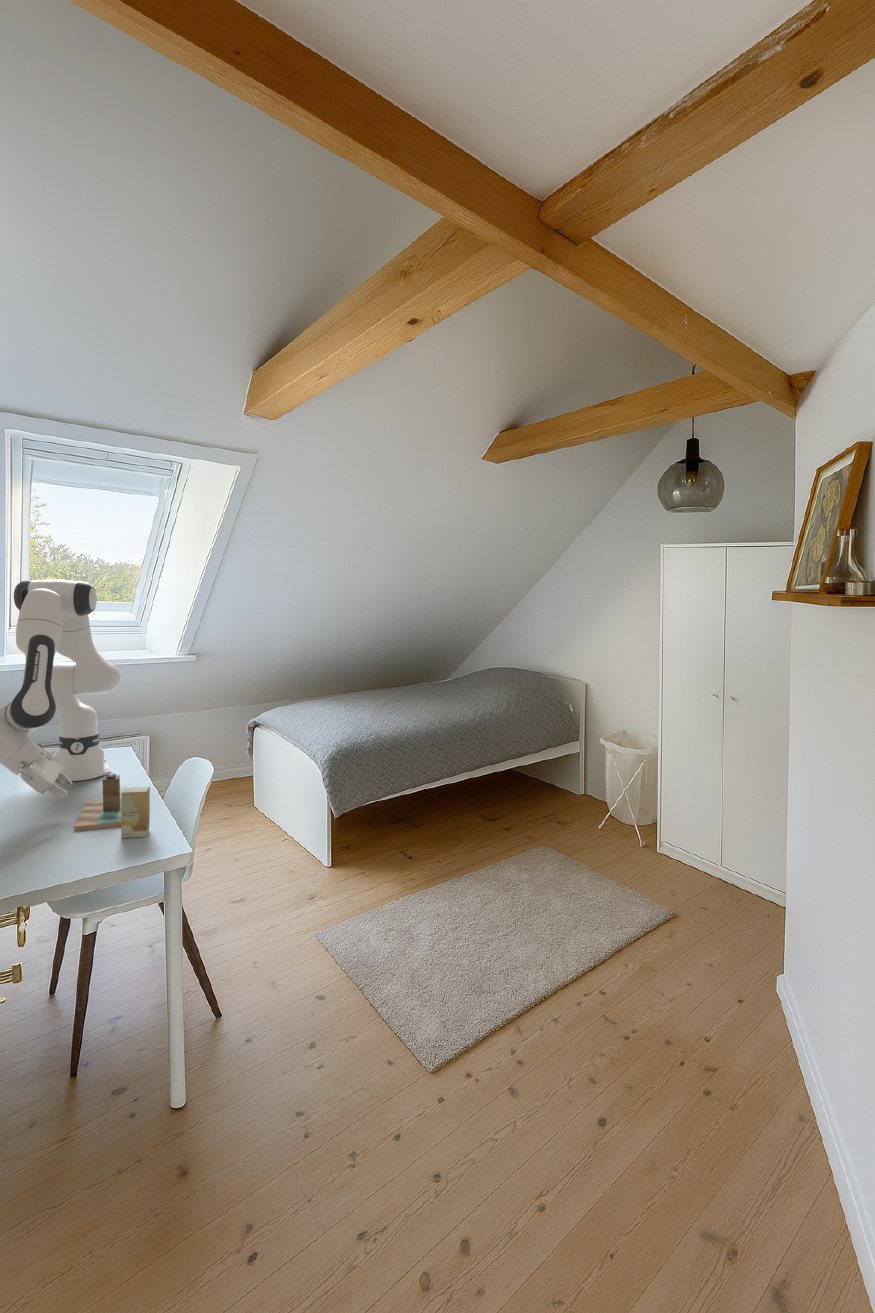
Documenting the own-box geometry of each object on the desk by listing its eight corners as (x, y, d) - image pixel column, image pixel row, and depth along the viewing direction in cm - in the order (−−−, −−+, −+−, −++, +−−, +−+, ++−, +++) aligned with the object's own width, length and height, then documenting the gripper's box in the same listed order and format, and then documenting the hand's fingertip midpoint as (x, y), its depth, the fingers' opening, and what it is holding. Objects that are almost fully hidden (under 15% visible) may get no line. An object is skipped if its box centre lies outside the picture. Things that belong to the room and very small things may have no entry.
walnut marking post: (104, 807, 180) (103, 773, 179) (120, 806, 181) (119, 772, 180) (103, 812, 176) (102, 777, 175) (119, 810, 178) (118, 775, 177)
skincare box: (120, 839, 161) (119, 792, 160) (124, 832, 165) (123, 787, 164) (148, 837, 163) (147, 790, 162) (150, 831, 167) (150, 786, 166)
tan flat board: (84, 805, 186) (84, 800, 186) (140, 800, 192) (140, 795, 191) (74, 831, 166) (74, 825, 165) (137, 824, 171) (137, 819, 171)
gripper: (26, 759, 160) (71, 792, 165) (41, 741, 179) (81, 772, 184) (6, 777, 159) (52, 811, 164) (23, 758, 178) (64, 788, 182)
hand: (68, 790), depth 174 cm, fingers open, 8 cm apart
